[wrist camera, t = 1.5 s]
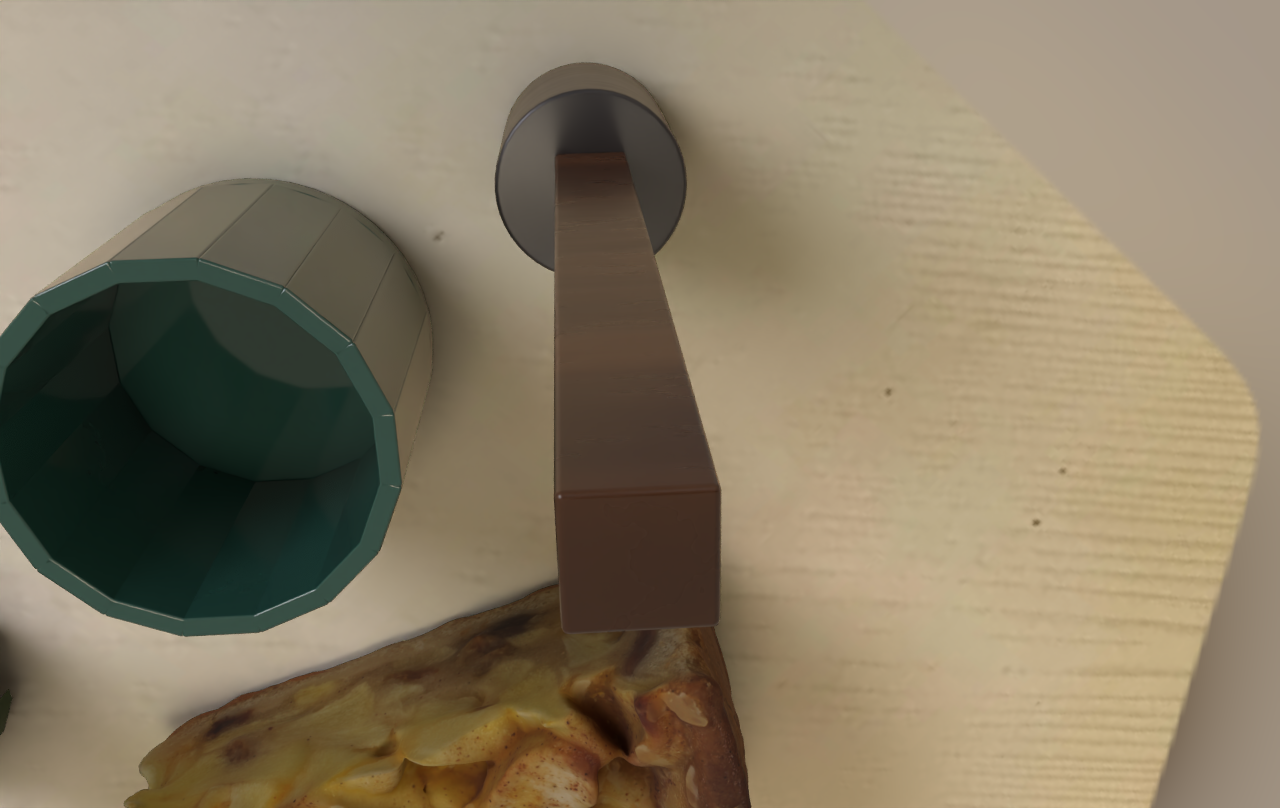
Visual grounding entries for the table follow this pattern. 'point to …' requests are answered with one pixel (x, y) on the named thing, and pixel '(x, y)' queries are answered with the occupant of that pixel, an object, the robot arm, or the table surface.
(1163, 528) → the table surface
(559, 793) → the pie slice
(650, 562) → the brown post with base
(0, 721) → the character mug
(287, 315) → the cup
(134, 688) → the table surface
